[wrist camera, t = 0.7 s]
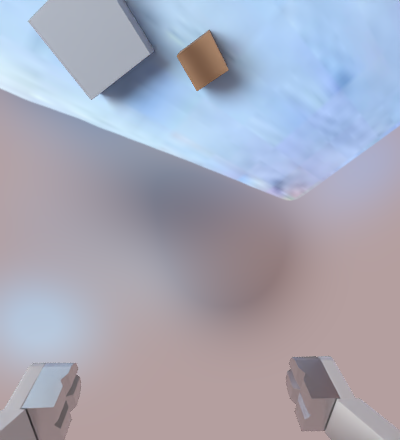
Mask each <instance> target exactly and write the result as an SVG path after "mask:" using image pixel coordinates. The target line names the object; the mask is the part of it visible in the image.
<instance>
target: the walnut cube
mask: <svg viewBox="0 0 400 440" xmlns="http://www.w3.org/2000/svg"><path fill="white" fill-rule="evenodd" d="M177 58H178V59H179V61H180V63H181V65H182V66H183V68H184V70H185V71H186V73H187V75H188V77H189V78H190V80H191V82H192V84H193V85H194V87H195V89H196V91H198V90H200V89H201V88H203V87H204V86H206V85H207V84H209V83H210V82H212V81H213V80H215V79H216V78H218V77H219V76H221V75H222V74H223V73H225V72H226V71H228V67H227V64H226V62H225V60H224V58H223V56H222V54H221V52H220V50H219V48H218V46H217V44H216V42H215V40H214V38H213V36H212V34H211V32H210V30H208V31H207V32H206V33H204V34H203V35H202V36H200V37H199V38H198V39H196V40H195V41H194V42H192V43H191V44H190V45H188V46H187V47H186V48H184V49H183V50H182V51H180V52H179V53H178V55H177Z"/></svg>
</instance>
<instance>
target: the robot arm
mask: <svg viewBox="0 0 400 440" xmlns="http://www.w3.org/2000/svg"><path fill="white" fill-rule="evenodd" d="M289 365H290V367H291V369H290V370H289V371H288V372H287V376H286V385H287V390H288V394H289V396H290V399H291V400H292V401H293V402H294V403H295V404H296V408H295V414H296V417H297V419H298V422H299V425H300V427H301V431H325V433H326V434H327V436H328V437H329V438H330V439H331V440H400V430H398V429H397V428H396V427H395V426H394V425H392V424H391V423H390V422H389V421H387V420H386V419H385V418H384V417H382V416H381V415H380V414H379V413H377V412H376V411H375V410H374V409H372V408H371V407H370V406H369V405H367V404H366V403H365V402H363V401H362V400H361V399H360V398H355V396H354V394H353V393H352V391H351V389H350V387H349V386H348V384H347V382H346V381H345V379H344V377H343V375H342V374H341V372H340V370H339V368H338V367H337V365H336V363H335V361H334V360H333V358H332V357H330V356H325V357H316V356H313V357H292V358H291V359H290V362H289ZM77 370H78V367H77V364H76V363H33V364H32V365H31V366H30V367H29V368H28V369H27V371H26V372H25V374H24V376H23V378H22V379H21V381H20V383H19V384H18V386H17V388H16V390H15V391H14V393H13V395H12V397H11V398H10V400H9V402H8V403H7V405H6V407H5V408H4V410H0V440H64V439H65V436H66V433H67V431H68V428H69V425H70V422H71V420H72V419H71V415H70V412H71V411H72V410H73V409H74V408H75V407H76V405H77V402H78V399H79V396H80V390H81V380H80V377H79V376H78V375H76V373H77Z"/></svg>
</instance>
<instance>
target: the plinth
mask: <svg viewBox="0 0 400 440" xmlns="http://www.w3.org/2000/svg"><path fill="white" fill-rule="evenodd" d="M28 22H29V23H30V24H31V26H32V27H33V28H34V29H35V31H36V32H37V33H38V34H39V36H40V37H41V38H42V39H43V41H44V42H45V43H46V44H47V46H48V47H49V48H50V49H51V51H52V52H53V53H54V54H55V56H56V57H57V58H58V59H59V61H60V62H61V63H62V64H63V66H64V67H65V68H66V69H67V71H68V72H69V73H70V74H71V76H72V77H73V78H74V79H75V81H76V82H77V83H78V84H79V86H80V87H81V88H82V89H83V91H84V92H85V93H86V94H87V96H88V97H89V98H90V99H91V100H92V99H93V98H95V97H96V96H98V95H99V94H100V93H102V92H103V91H104V90H105V89H107V88H108V87H109V86H111V85H112V84H113V83H114V82H116V81H117V80H118V79H120V78H121V77H122V76H123V75H125V74H126V73H127V72H129V71H130V70H131V69H132V68H134V67H135V66H136V65H137V64H139V63H140V62H141V61H143V60H144V59H145V58H146V57H148V56H149V55H150V54H152V53H153V52H154V51H155V50H154V49H153V47H152V45H151V44H150V42H149V41H148V39H147V37H146V36H145V34H144V32H143V31H142V29H141V27H140V26H139V24H138V23H137V21H136V19H135V18H134V16H133V14H132V13H131V11H130V10H129V8H128V6H127V5H126V3H125V1H124V0H48V1H47V2H46V3H45V4H44V5H43V6H42V7H41V8H40V9H39V10H38V11H37V12H36V13H35V14H34V15H33V16H32V17H31V18H30V19H29V20H28Z"/></svg>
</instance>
